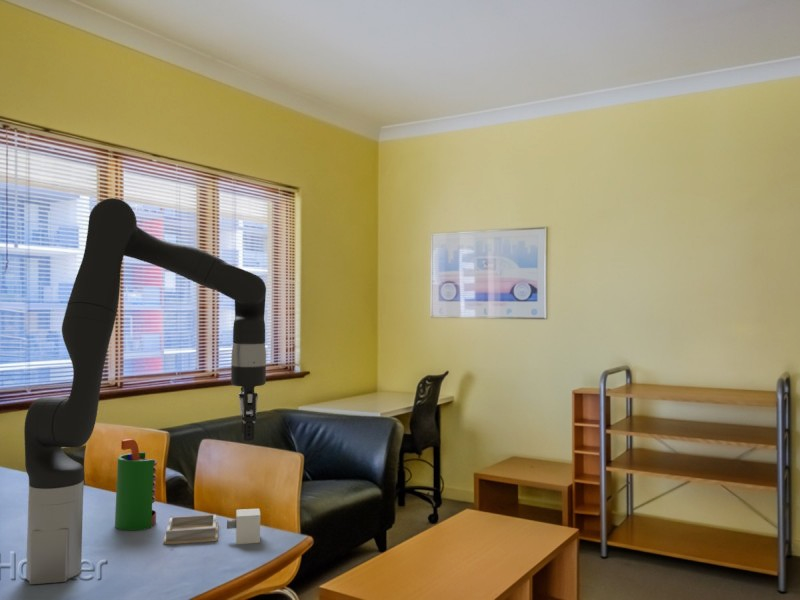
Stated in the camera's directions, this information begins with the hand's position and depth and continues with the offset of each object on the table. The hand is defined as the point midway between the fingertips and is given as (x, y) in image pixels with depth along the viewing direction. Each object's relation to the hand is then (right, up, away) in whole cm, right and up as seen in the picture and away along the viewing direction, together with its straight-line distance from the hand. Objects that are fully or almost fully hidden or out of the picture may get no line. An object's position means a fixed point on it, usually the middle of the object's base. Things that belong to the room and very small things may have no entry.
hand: (247, 436), depth 146 cm
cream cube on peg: (0, -23, -1) cm, 23 cm away
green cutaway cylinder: (-28, -22, +8) cm, 37 cm away
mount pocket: (-13, -22, +1) cm, 26 cm away
